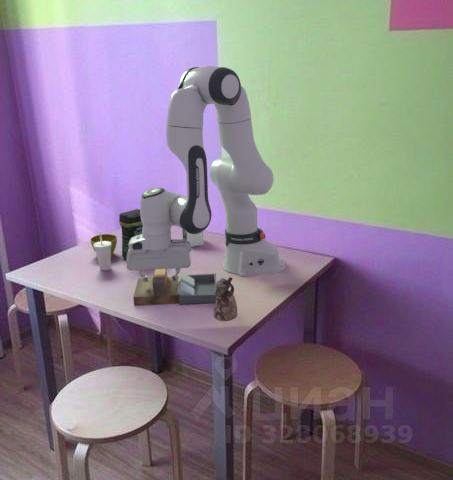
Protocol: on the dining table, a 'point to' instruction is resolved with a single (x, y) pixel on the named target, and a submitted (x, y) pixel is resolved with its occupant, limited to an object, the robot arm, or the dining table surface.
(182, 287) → the tile
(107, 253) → the smoothie
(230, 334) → the dining table surface
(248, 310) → the dining table surface
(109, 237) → the flower pot
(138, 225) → the coffee jar
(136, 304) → the brown wooden square board
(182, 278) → the tile
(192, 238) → the medicine bottle
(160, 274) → the two-tone eraser block
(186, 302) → the tray
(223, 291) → the figurine
